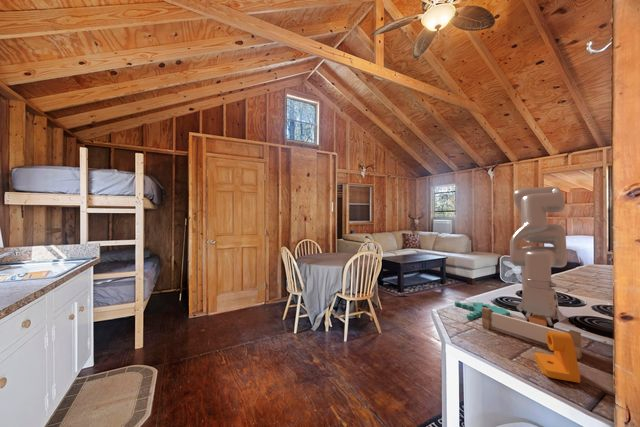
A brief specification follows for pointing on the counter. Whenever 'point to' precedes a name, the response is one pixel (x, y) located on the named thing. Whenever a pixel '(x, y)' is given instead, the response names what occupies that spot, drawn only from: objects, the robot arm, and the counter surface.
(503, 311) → the alien figure
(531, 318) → the block
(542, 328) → the gate door
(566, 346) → the bracket
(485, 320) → the gate frame
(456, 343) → the counter surface
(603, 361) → the counter surface
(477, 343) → the counter surface
